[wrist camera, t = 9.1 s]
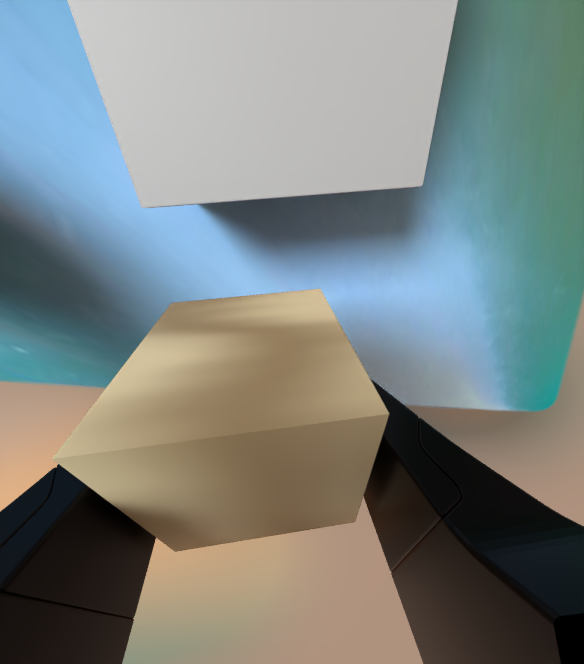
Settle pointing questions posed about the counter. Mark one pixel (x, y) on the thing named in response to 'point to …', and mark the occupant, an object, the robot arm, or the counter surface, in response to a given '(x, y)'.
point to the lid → (268, 93)
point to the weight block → (234, 423)
